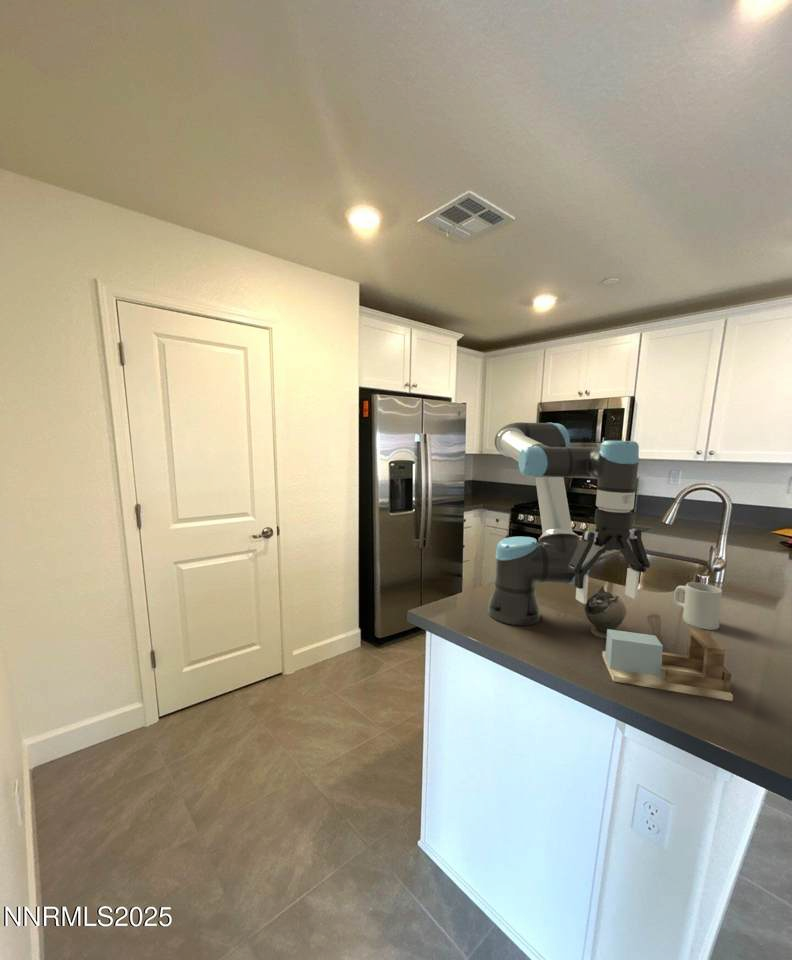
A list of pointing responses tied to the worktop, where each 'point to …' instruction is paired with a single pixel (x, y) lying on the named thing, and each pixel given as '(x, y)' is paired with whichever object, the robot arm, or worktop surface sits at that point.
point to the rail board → (687, 670)
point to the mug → (700, 605)
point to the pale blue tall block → (634, 652)
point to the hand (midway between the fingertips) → (606, 599)
